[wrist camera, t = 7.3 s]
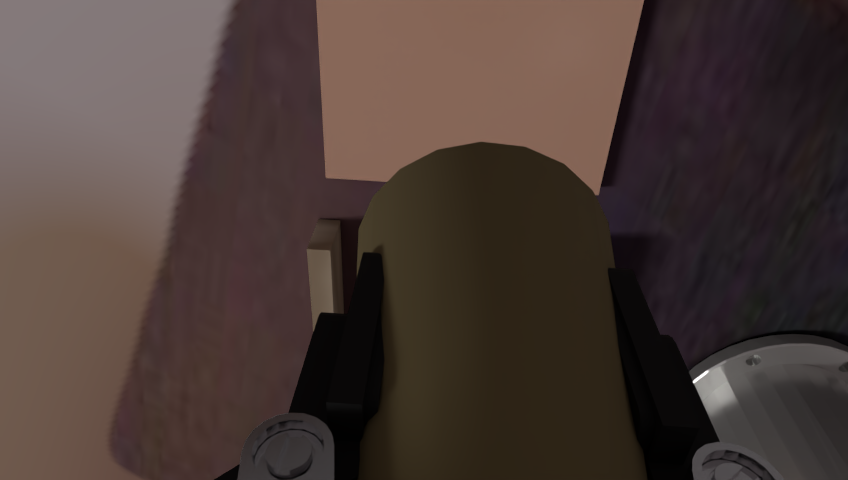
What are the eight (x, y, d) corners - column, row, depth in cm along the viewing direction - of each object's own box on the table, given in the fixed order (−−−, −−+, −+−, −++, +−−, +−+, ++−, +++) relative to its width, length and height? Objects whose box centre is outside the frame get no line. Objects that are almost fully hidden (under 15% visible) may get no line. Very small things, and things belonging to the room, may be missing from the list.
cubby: (597, 236, 32) (608, 268, 30) (557, 401, 39) (563, 438, 37) (318, 219, 32) (306, 249, 30) (329, 385, 40) (320, 421, 37)
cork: (514, 84, 12) (721, 916, 2) (657, 278, 14) (1035, 1068, 5) (304, 239, 14) (4, 972, 5) (458, 383, 16) (457, 1058, 7)
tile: (654, -72, 24) (660, -70, 23) (595, 187, 31) (598, 194, 30) (315, -90, 24) (311, -89, 24) (328, 171, 31) (325, 177, 30)
